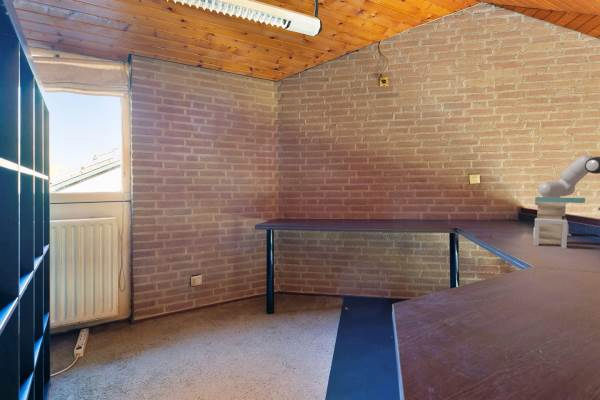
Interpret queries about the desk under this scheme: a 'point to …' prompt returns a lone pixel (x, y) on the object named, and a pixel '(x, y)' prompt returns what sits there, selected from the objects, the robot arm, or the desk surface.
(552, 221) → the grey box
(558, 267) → the desk surface
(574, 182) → the robot arm
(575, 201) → the teal rectangular bar
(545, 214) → the birch shelf
